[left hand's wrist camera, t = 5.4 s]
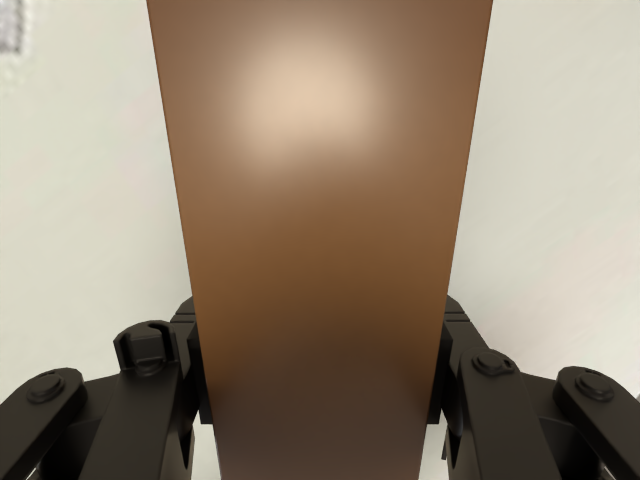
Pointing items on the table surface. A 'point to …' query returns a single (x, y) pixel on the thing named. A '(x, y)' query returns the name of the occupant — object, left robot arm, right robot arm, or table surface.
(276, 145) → the bar
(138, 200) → the table surface
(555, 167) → the table surface
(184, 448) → the left robot arm
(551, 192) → the table surface
